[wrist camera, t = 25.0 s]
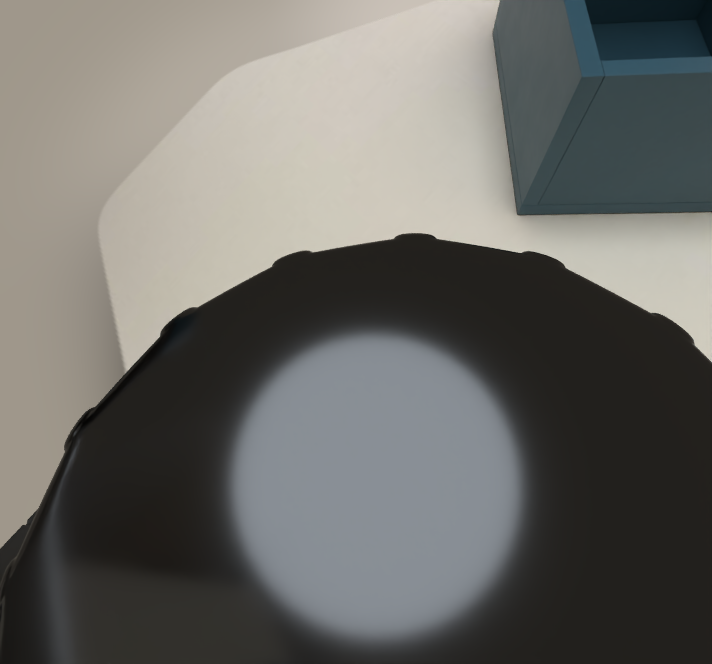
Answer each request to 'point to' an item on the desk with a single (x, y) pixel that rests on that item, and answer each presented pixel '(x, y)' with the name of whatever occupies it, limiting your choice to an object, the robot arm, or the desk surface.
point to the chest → (607, 104)
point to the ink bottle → (384, 477)
